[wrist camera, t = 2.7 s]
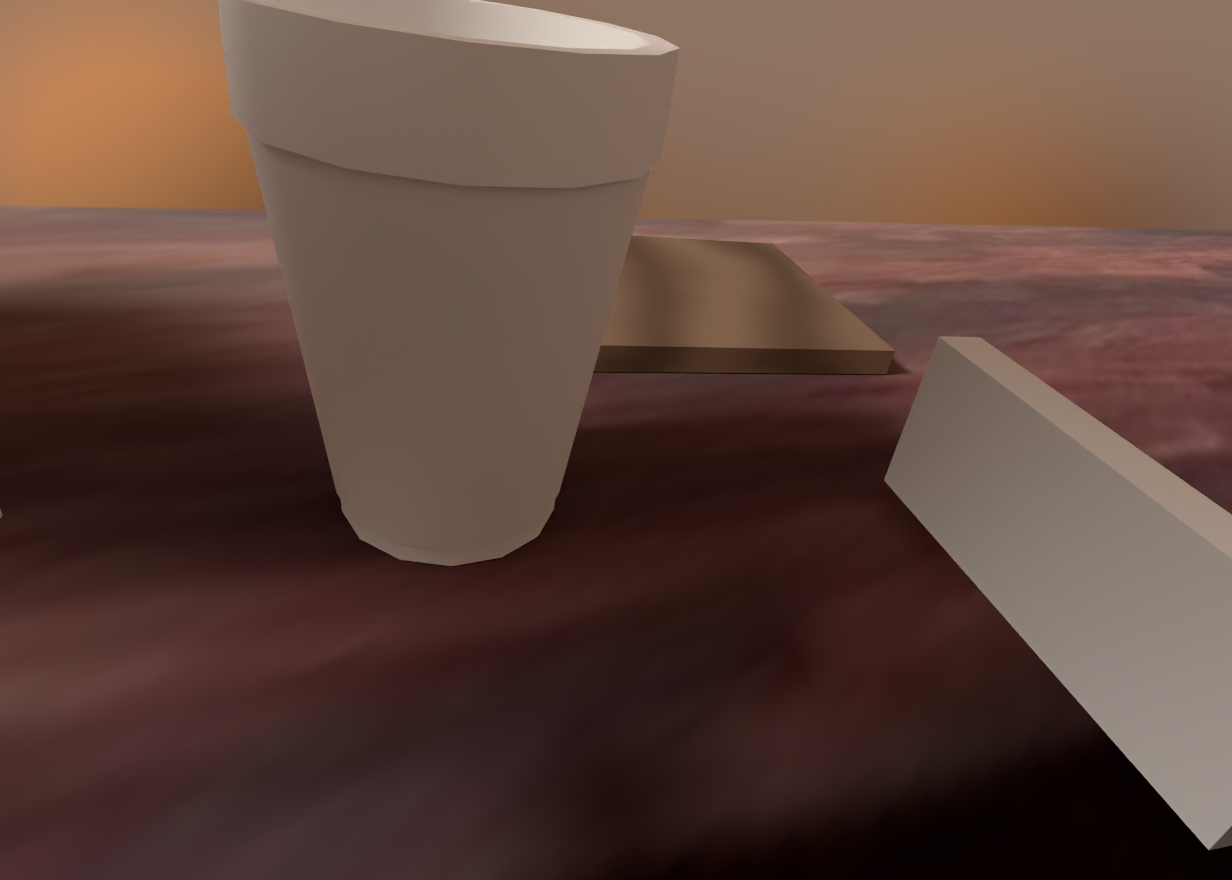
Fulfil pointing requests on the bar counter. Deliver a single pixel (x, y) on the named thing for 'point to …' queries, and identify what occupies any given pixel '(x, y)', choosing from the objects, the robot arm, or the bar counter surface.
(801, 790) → the bar counter surface
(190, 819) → the bar counter surface
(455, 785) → the bar counter surface
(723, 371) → the walnut board
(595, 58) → the foam cup
